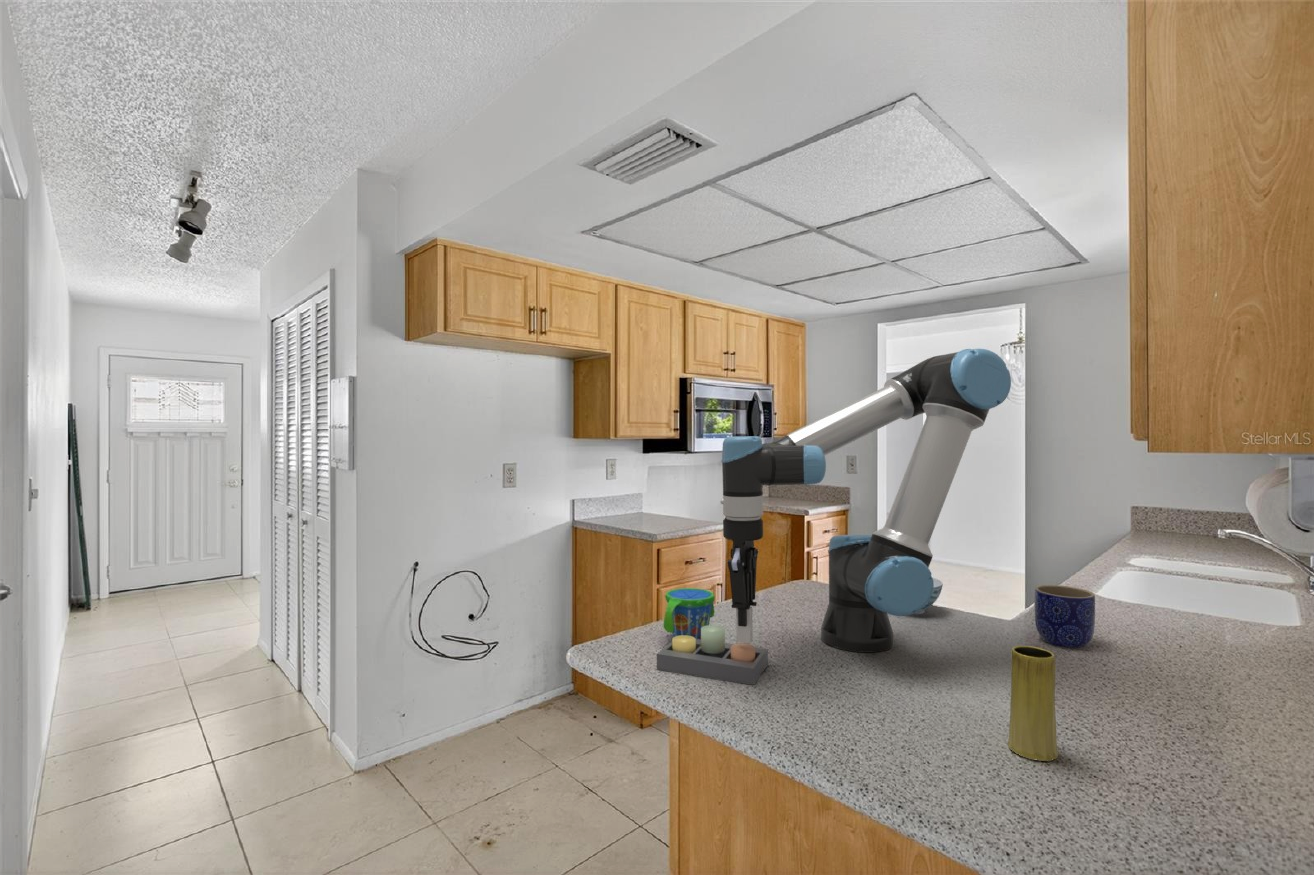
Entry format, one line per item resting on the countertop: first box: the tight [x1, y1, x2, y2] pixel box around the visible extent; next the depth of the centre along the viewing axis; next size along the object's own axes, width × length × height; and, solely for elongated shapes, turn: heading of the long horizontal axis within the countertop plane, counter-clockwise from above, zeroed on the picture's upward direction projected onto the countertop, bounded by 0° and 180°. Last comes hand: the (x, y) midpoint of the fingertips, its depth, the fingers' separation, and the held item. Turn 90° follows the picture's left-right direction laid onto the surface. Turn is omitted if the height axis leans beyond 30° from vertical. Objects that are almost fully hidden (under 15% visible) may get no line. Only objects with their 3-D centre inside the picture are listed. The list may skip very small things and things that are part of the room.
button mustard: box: [671, 635, 696, 653], centre depth 124 cm, size 5×5×4 cm
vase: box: [1007, 645, 1059, 762], centre depth 89 cm, size 6×6×14 cm
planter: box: [1033, 584, 1096, 649], centre depth 134 cm, size 11×11×11 cm
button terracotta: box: [731, 642, 756, 663], centre depth 119 cm, size 5×5×4 cm
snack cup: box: [663, 587, 716, 640], centre depth 137 cm, size 16×10×10 cm
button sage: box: [701, 624, 726, 654], centre depth 121 cm, size 5×5×4 cm
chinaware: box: [911, 577, 943, 615], centre depth 159 cm, size 15×15×8 cm
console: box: [656, 639, 769, 686], centre depth 121 cm, size 19×11×3 cm, turn 66°
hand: (744, 641), depth 119 cm, fingers closed
